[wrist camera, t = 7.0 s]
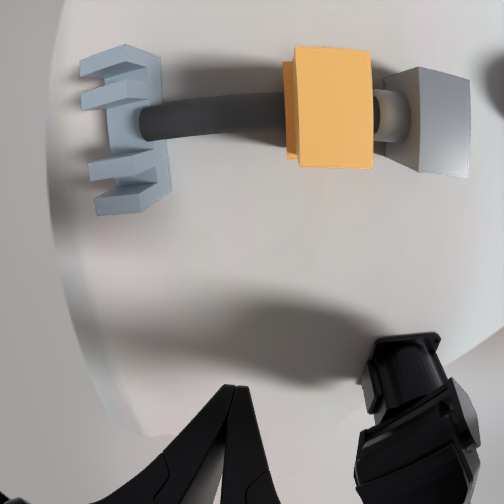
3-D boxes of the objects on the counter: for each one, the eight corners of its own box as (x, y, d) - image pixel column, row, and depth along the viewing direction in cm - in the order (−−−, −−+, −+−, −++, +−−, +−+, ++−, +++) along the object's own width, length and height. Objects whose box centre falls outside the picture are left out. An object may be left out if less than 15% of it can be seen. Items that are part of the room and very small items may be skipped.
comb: (160, 56, 14) (125, 43, 10) (172, 190, 18) (141, 212, 14) (120, 67, 15) (79, 60, 11) (132, 193, 19) (97, 215, 15)
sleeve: (339, 77, 14) (381, 47, 7) (340, 149, 16) (383, 175, 9) (283, 76, 14) (281, 41, 7) (286, 149, 16) (287, 173, 9)
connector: (426, 85, 13) (469, 80, 9) (426, 160, 15) (467, 177, 11) (360, 75, 14) (388, 61, 9) (362, 155, 16) (389, 169, 12)
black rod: (401, 101, 13) (416, 100, 11) (401, 135, 14) (416, 138, 12) (153, 107, 15) (137, 107, 13) (156, 139, 15) (140, 143, 14)
